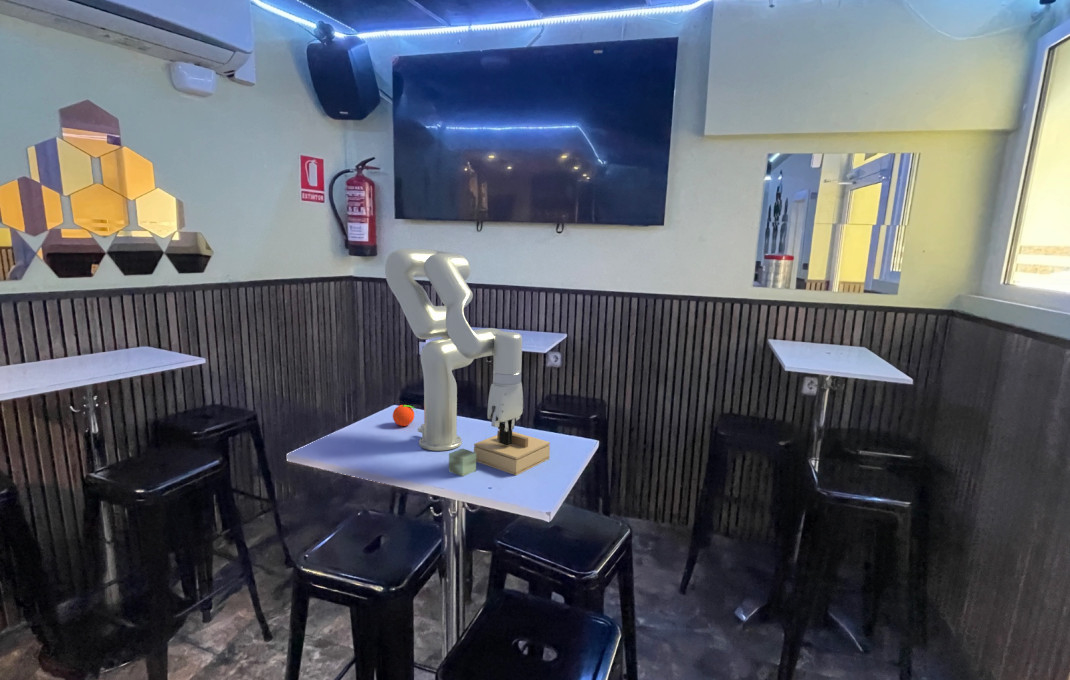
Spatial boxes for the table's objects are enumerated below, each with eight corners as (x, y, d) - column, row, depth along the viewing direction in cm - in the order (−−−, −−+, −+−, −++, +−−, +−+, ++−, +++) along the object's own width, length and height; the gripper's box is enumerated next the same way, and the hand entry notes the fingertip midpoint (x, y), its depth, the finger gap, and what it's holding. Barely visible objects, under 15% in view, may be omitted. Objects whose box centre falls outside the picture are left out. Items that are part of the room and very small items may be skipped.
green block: (448, 471, 137) (449, 453, 136) (462, 466, 141) (462, 448, 140) (462, 476, 134) (462, 458, 133) (475, 470, 138) (476, 452, 137)
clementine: (419, 422, 175) (419, 402, 174) (415, 429, 168) (415, 408, 167) (395, 421, 175) (395, 401, 174) (390, 428, 168) (390, 407, 167)
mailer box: (473, 460, 144) (474, 446, 144) (508, 446, 156) (508, 433, 156) (516, 475, 135) (516, 460, 135) (549, 458, 147) (549, 445, 147)
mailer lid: (474, 445, 144) (474, 435, 143) (508, 432, 156) (509, 422, 155) (516, 459, 135) (516, 448, 134) (549, 444, 147) (550, 433, 146)
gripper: (514, 371, 148) (512, 433, 151) (477, 380, 136) (476, 447, 139) (535, 375, 143) (533, 439, 146) (499, 385, 132) (497, 454, 134)
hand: (505, 443), depth 143 cm, fingers closed
